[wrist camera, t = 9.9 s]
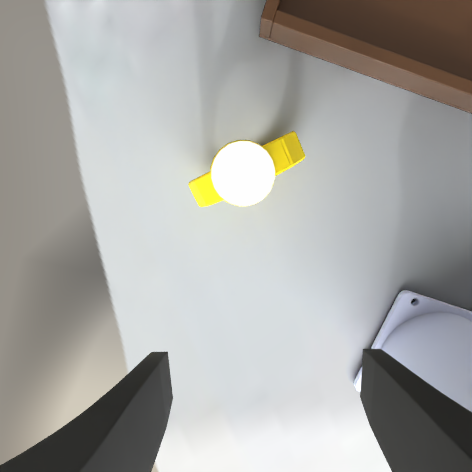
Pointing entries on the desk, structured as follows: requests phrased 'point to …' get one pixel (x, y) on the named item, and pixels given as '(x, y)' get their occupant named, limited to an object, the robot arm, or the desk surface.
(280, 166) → the watch
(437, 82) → the tray
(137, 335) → the desk surface
